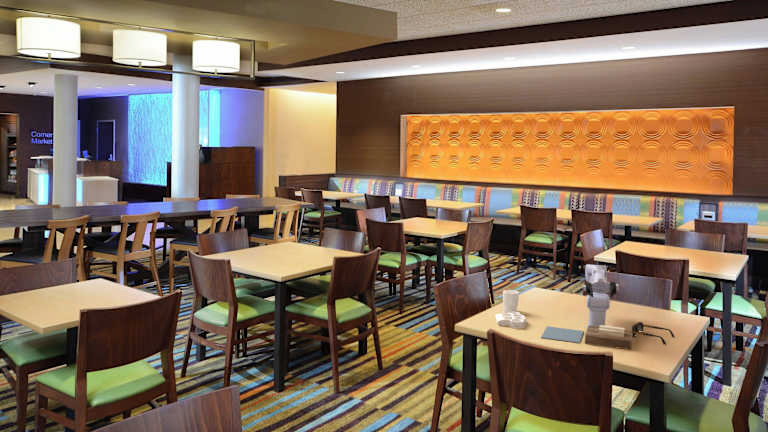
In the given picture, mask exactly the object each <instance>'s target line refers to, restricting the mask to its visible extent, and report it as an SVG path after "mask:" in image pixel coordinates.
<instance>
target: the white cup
mask: <svg viewBox="0 0 768 432" xmlns="http://www.w3.org/2000/svg"><path fill="white" fill-rule="evenodd" d="M519 294H520V292H519V291H517V290H514V289H504V290H502V310H503V313H508V312H518V305H519Z"/></svg>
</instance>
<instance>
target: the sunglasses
mask: <svg viewBox="0 0 768 432" xmlns="http://www.w3.org/2000/svg"><path fill="white" fill-rule="evenodd" d="M644 327H646V328H651V329H656V330H664V331H669V333H670V336H671V338H676V337H675V335H674V333H673V331H672V330H671V329H670V328H666V327H665V328H664V327H659V326H654V325H649V324H643V322H642V321H638V322H636V323H635V324H632V327H631V331H632V338H633V337H635V338H636V336H635V335H640V336H641V335H642V336H647V337H653V338H655V337H656V338H659V339H661V341H662V344H663V345H664V344H666V345H667V343H666V341H665V340H664V338H663V337H662V336H660V335H655V334H651V333H648V332H647V333H645V332H644ZM639 331H643V332H639Z"/></svg>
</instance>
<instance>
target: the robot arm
mask: <svg viewBox="0 0 768 432" xmlns="http://www.w3.org/2000/svg"><path fill="white" fill-rule="evenodd" d="M607 270H608V269H607V266H606V265H605V264H604V265H601V264H600V265H599V264H588V263H587V264H586V265H585V270H584V273H585V274H584V276H585V280H586V282H587V283H586V284H584V285H582V287H583V288H582V289H583V292H586V305H585V306H586V307H587V308H588V322H587V323H588V324H587V326H586V329H587V328H588V325H590V326H598V327H600V325H603V326H607V324H606V317H607V316H606V315H607V310H609V309H610V307H611V304H610V303H611V299H610V298H611V297H613V296H614V295H617V291H619V290H620V287H619V286H620V285H619V284H618V283H616V282H615V281H610V282H609V281H608V271H607ZM609 292H610V296H609V295H608V294H607V293H609Z"/></svg>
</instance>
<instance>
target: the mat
mask: <svg viewBox="0 0 768 432" xmlns="http://www.w3.org/2000/svg"><path fill="white" fill-rule="evenodd" d="M583 334H584V330H579V329H573V328H563V327H555V326H546V327H545V329H544V331H543V332H542V335H541V337H540V338H541V339H545V340H553V341H559V342H560V341H561V342H565V343H573V344H574V343H576V344H580V343H581V340H582V337H583Z"/></svg>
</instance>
